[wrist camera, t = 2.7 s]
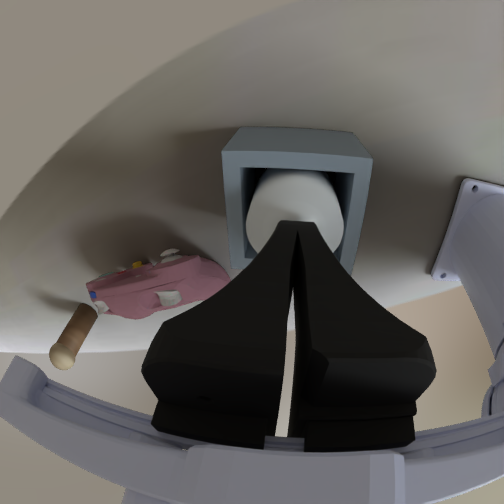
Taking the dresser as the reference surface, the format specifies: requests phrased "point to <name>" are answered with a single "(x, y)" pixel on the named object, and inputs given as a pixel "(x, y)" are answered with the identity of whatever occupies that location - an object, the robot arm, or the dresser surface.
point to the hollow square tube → (295, 157)
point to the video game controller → (157, 285)
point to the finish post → (72, 337)
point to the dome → (294, 205)
